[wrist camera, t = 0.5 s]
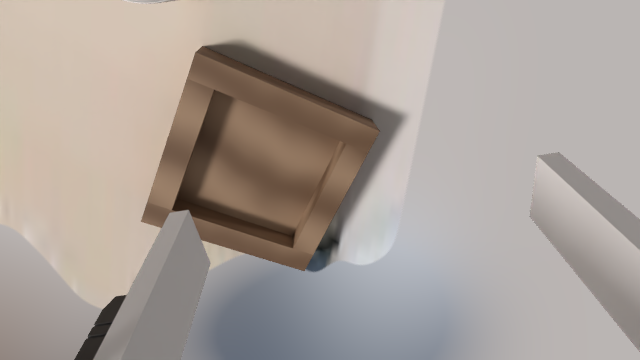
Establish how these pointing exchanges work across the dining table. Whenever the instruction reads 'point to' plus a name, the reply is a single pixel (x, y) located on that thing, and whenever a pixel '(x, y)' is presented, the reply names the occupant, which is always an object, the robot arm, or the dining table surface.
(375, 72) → the dining table surface
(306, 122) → the tray
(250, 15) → the dining table surface
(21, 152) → the dining table surface
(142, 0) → the pill bottle
